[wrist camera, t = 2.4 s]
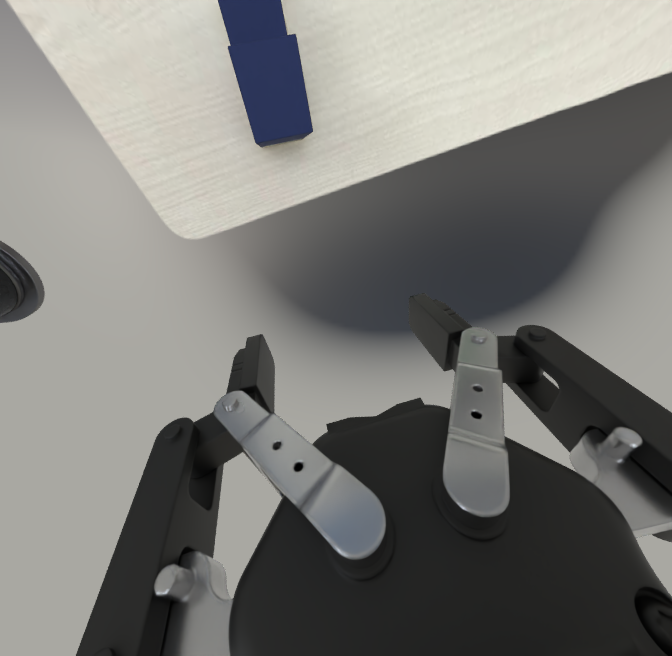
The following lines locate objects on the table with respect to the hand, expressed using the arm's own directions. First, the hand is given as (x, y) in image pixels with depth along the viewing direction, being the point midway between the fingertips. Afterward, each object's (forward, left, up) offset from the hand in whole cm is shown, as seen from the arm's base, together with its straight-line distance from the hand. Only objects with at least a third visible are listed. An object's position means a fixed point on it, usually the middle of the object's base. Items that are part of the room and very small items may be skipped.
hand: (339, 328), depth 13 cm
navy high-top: (0, +14, -22) cm, 26 cm away
